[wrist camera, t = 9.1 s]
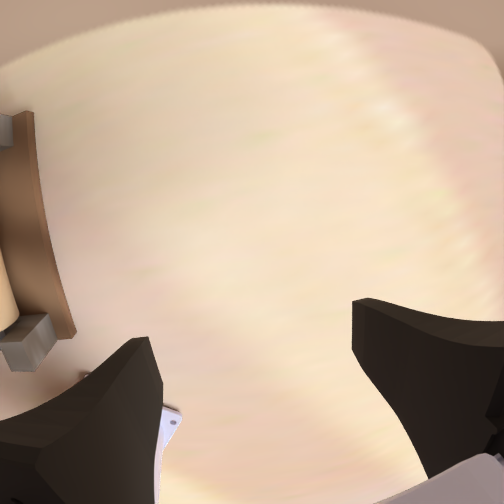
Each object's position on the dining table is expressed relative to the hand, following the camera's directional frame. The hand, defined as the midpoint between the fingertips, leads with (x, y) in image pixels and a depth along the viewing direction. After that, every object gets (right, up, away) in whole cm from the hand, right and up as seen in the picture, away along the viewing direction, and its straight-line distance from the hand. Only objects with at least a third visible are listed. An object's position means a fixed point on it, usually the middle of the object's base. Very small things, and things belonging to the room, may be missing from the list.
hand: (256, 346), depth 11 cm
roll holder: (-18, +4, +6) cm, 20 cm away
